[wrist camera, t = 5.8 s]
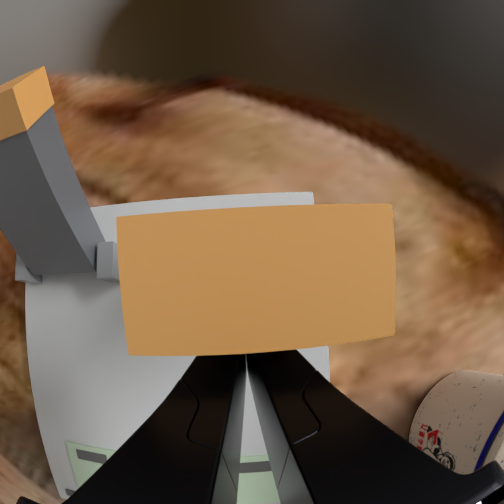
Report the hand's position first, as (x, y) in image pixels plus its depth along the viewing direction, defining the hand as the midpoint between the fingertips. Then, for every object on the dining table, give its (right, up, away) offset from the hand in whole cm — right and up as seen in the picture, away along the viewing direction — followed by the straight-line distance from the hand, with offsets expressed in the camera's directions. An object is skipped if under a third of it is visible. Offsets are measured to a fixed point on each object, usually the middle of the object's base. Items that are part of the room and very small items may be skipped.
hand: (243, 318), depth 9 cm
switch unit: (-5, -6, +8) cm, 11 cm away
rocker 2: (0, +2, +8) cm, 9 cm away
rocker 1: (-11, +1, +8) cm, 14 cm away
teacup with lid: (+17, -12, +8) cm, 22 cm away
